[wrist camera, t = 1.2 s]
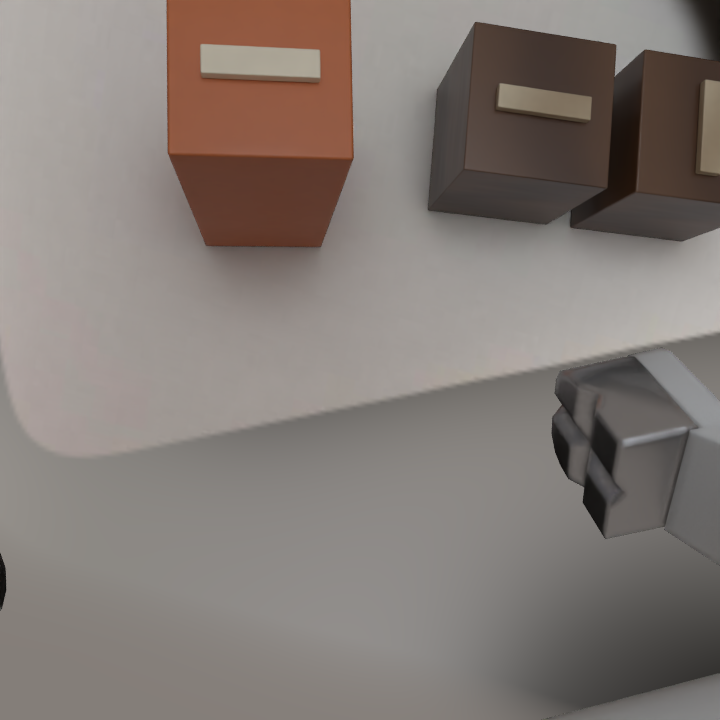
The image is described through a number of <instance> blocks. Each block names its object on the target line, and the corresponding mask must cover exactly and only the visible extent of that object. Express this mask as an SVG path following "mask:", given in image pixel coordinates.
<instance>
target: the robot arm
mask: <svg viewBox="0 0 720 720" xmlns="http://www.w3.org/2000/svg"><path fill="white" fill-rule="evenodd" d="M555 394H556V396H557V397H558V399H559V401H560V402H561V404H562V406H561V407H560V408H559V409H558V410H557V412H556V413H555V414H554V416H553V418H552V438H553V443H554V449H555V453H556V455H557V458H558V460H559V463H560V465H561V467H562V469H563V471H564V472H565V474H566V476H567V477H568V479H570V480H571V481H573V482H575V483H577V484H579V485H581V486H583V487H584V496H583V504H584V505H585V507H586V509H587V510H588V512H589V513H590V515H591V517H592V518H593V520H594V521H595V523H596V525H597V526H598V528H599V530H600V531H601V533H602V535H603V536H604V538H605V539H608V538H612V537H617V536H622V535H627V534H632V533H637V532H641V531H646V530H650V529H655V528H660V527H665V528H664V530H665V531H667V532H668V533H670V534H672V535H673V536H675V537H676V538H678V539H679V540H681V541H682V542H684V543H685V544H687V545H688V546H690V547H691V548H693V549H695V550H696V551H698V552H699V553H701V554H702V555H704V556H705V557H707V558H708V559H710V560H711V561H713V562H714V563H716V564H718V565H719V566H720V400H719V399H718V398H717V397H716V396H715V395H714V394H713V393H712V392H711V391H710V390H709V389H708V388H707V387H706V386H705V385H704V384H703V383H702V382H701V381H700V380H699V379H698V378H697V377H696V376H695V375H694V374H693V373H692V372H691V371H690V370H689V369H688V368H687V367H686V366H685V365H684V364H683V363H682V362H681V361H680V360H679V359H678V358H677V357H676V356H675V355H674V354H673V353H672V352H671V351H670V350H667V349H665V348H662V347H661V348H657V349H653V350H648V351H644V352H639V353H635V354H631V355H628V356H627V357H620V358H615V359H611V360H607V361H602V362H597V363H593V364H588V365H584V366H580V367H575V368H570V369H566V370H562V371H560V372H559V374H558V376H557V379H556V384H555ZM5 593H6V571H5V565H4V562H3V559H2V556H1V554H0V610H1V609H2V606H3V602H4V597H5ZM543 720H720V673H719V674H715V675H711V676H707V677H703V678H699V679H696V680H692V681H688V682H684V683H681V684H677V685H673V686H669V687H666V688H661V689H657V690H654V691H650V692H646V693H642V694H638V695H635V696H631V697H627V698H623V699H619V700H615V701H612V702H608V703H604V704H600V705H597V706H592V707H589V708H585V709H581V710H577V711H574V712H570V713H566V714H562V715H558V716H554V717H550V718H547V719H543Z"/></svg>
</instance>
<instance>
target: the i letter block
mask: <svg viewBox="0 0 720 720" xmlns="http://www.w3.org/2000/svg"><path fill="white" fill-rule="evenodd" d="M167 120H168V155H169V157H170V159H171V162H172V164H173V167H174V169H175V171H176V174H177V176H178V179H179V181H180V184H181V186H182V188H183V191H184V193H185V196H186V198H187V200H188V203H189V205H190V208H191V210H192V213H193V215H194V217H195V220H196V222H197V225H198V227H199V229H200V232H201V234H202V237H203V239H204V242H205V244H206V245H207V246H288V247H320V246H321V245H322V242H323V239H324V237H325V234H326V231H327V229H328V226H329V223H330V220H331V218H332V215H333V212H334V210H335V207H336V204H337V201H338V199H339V196H340V193H341V191H342V188H343V185H344V182H345V180H346V177H347V174H348V172H349V169H350V166H351V163H352V161H353V158H354V152H353V102H352V52H351V2H350V0H167Z"/></svg>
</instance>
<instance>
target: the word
mask: <svg viewBox="0 0 720 720" xmlns="http://www.w3.org/2000/svg"><path fill="white" fill-rule="evenodd" d="M615 60H616V45H615V44H609V43H603V42H597V41H591V40H585V39H578V38H572V37H566V36H560V35H554V34H548V33H541V32H535V31H529V30H523V29H517V28H511V27H504V26H498V25H492V24H486V23H480V22H475V23H474V25H473V27H472V28H471V30H470V32H469V34H468V36H467V37H466V39H465V41H464V43H463V44H462V46H461V48H460V50H459V52H458V53H457V55H456V57H455V59H454V60H453V62H452V64H451V66H450V68H449V69H448V71H447V73H446V75H445V77H444V78H443V80H442V82H441V84H440V85H439V87H438V89H437V101H436V114H435V127H434V139H433V152H432V164H431V177H430V190H429V202H428V210H433V211H441V212H449V213H457V214H465V215H473V216H481V217H490V218H498V219H506V220H514V221H522V222H530V223H538V224H548V223H550V222H552V221H553V220H555V219H557V218H558V217H560V216H562V215H563V214H565V213H567V212H568V211H570V210H572V218H571V227H572V228H580V229H588V230H596V231H604V232H612V233H620V234H628V235H637V236H645V237H653V238H661V239H669V240H677V241H684V240H687V239H690V238H693V237H695V236H698V235H701V234H704V233H706V232H709V231H712V230H715V229H717V228H720V61H713V60H707V59H701V58H695V57H689V56H683V55H676V54H670V53H664V52H658V51H652V50H644V51H643V52H641V53H640V54H639V55H638V56H637V57H636V58H635V59H634V60H633V61H632V62H630V63H629V64H628V65H627V66H626V67H625V68H624V69H623V70H622V71H621V72H619V73H618V74H617V75H616V76H615ZM614 76H615V77H614Z"/></svg>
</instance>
